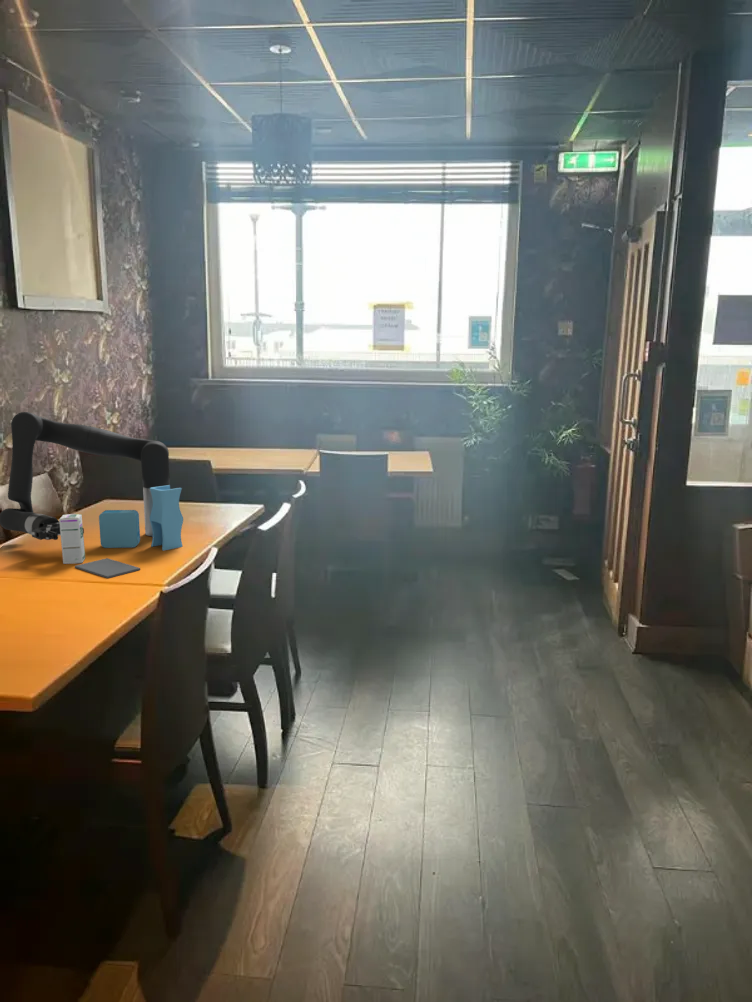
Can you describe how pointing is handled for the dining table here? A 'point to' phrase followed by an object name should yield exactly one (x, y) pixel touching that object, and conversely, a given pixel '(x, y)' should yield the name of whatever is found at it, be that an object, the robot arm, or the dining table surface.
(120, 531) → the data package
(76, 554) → the syrup box
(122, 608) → the dining table surface
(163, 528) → the blue wavy stand
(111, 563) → the mat
